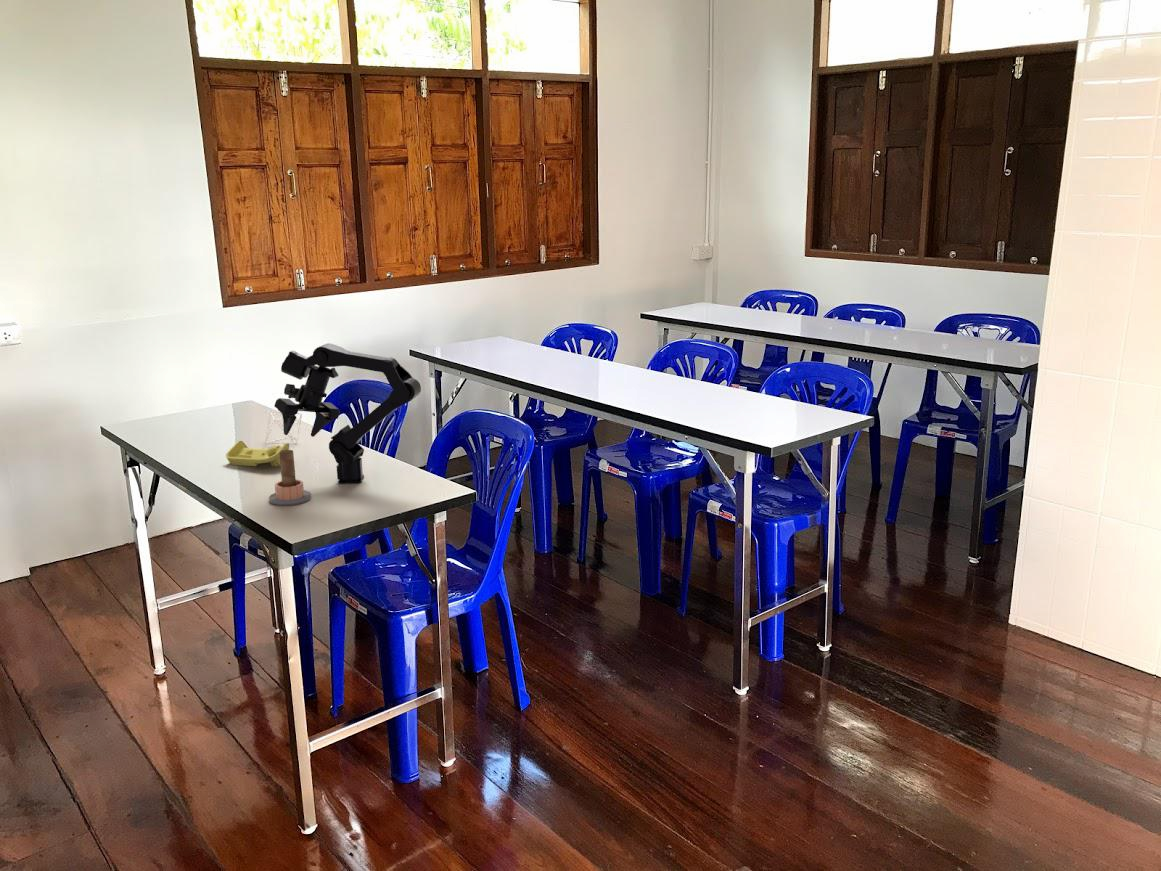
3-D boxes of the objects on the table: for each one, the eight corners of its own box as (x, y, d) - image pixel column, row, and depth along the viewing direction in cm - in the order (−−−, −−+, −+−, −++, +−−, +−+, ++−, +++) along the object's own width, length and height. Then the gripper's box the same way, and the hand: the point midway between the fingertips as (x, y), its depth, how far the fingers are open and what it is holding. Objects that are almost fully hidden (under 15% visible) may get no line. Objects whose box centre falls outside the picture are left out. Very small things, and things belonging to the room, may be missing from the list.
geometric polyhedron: (266, 447, 316) (264, 420, 313) (263, 439, 325) (261, 413, 323) (306, 443, 320) (304, 417, 318) (301, 435, 330) (299, 409, 328)
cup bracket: (314, 492, 270) (313, 476, 269) (306, 505, 259) (305, 489, 258) (274, 493, 269) (273, 478, 268) (264, 506, 258) (263, 490, 257)
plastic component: (222, 457, 296) (242, 437, 303) (233, 475, 300) (252, 454, 307) (271, 460, 287) (290, 439, 294) (282, 479, 291) (300, 457, 298)
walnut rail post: (293, 492, 266) (289, 449, 263) (299, 495, 264) (295, 451, 260) (280, 495, 264) (276, 451, 261) (286, 498, 261) (282, 454, 258)
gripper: (326, 377, 286) (310, 425, 290) (272, 371, 271) (256, 421, 275) (348, 393, 280) (331, 441, 284) (293, 387, 265) (276, 438, 269)
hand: (298, 435), depth 278 cm, fingers open, 9 cm apart
